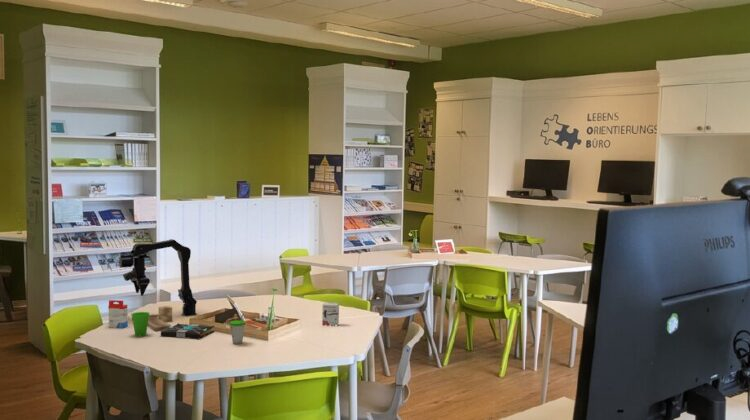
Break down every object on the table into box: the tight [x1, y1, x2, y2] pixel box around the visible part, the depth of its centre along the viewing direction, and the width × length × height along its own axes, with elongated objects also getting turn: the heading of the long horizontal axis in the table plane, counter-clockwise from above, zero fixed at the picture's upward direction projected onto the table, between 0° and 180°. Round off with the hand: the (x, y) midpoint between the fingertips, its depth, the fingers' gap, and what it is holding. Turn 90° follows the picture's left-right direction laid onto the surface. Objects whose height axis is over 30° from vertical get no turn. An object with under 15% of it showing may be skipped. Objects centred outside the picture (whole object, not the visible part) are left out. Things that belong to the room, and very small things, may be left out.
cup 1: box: [130, 311, 151, 337], centre depth 334 cm, size 9×9×11 cm
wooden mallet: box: [149, 305, 173, 323], centre depth 363 cm, size 14×5×8 cm, turn 125°
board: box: [147, 317, 171, 332], centre depth 355 cm, size 8×25×2 cm, turn 35°
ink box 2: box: [321, 302, 340, 326], centre depth 361 cm, size 8×5×12 cm, turn 86°
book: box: [160, 322, 215, 340], centre depth 338 cm, size 22×17×5 cm
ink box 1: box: [108, 299, 129, 329], centre depth 350 cm, size 8×5×15 cm, turn 84°
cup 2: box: [229, 313, 246, 345], centre depth 321 cm, size 8×8×15 cm
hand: (139, 294), depth 366 cm, fingers open, 9 cm apart
